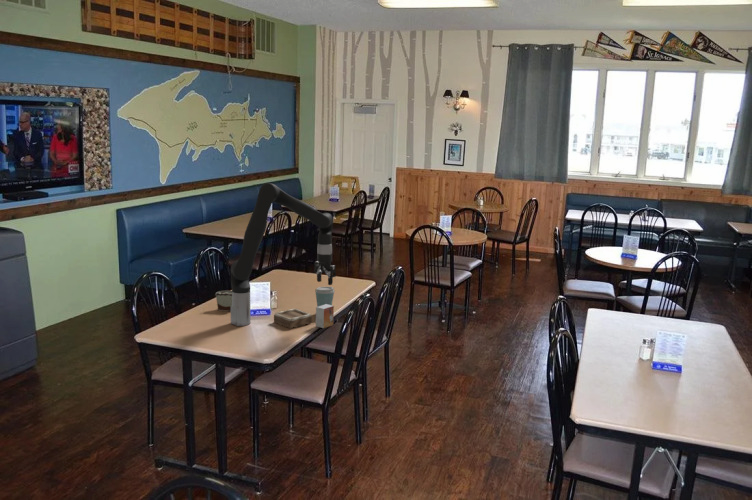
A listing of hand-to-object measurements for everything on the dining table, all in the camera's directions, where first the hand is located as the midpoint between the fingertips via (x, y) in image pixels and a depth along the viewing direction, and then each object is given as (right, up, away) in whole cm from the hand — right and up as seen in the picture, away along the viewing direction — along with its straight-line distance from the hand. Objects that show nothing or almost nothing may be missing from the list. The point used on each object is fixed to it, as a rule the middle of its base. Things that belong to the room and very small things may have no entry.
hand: (324, 283), depth 331 cm
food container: (-56, -16, +27) cm, 64 cm away
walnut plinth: (-17, -21, +7) cm, 28 cm away
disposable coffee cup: (-2, -18, +24) cm, 30 cm away
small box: (0, -23, +4) cm, 23 cm away
